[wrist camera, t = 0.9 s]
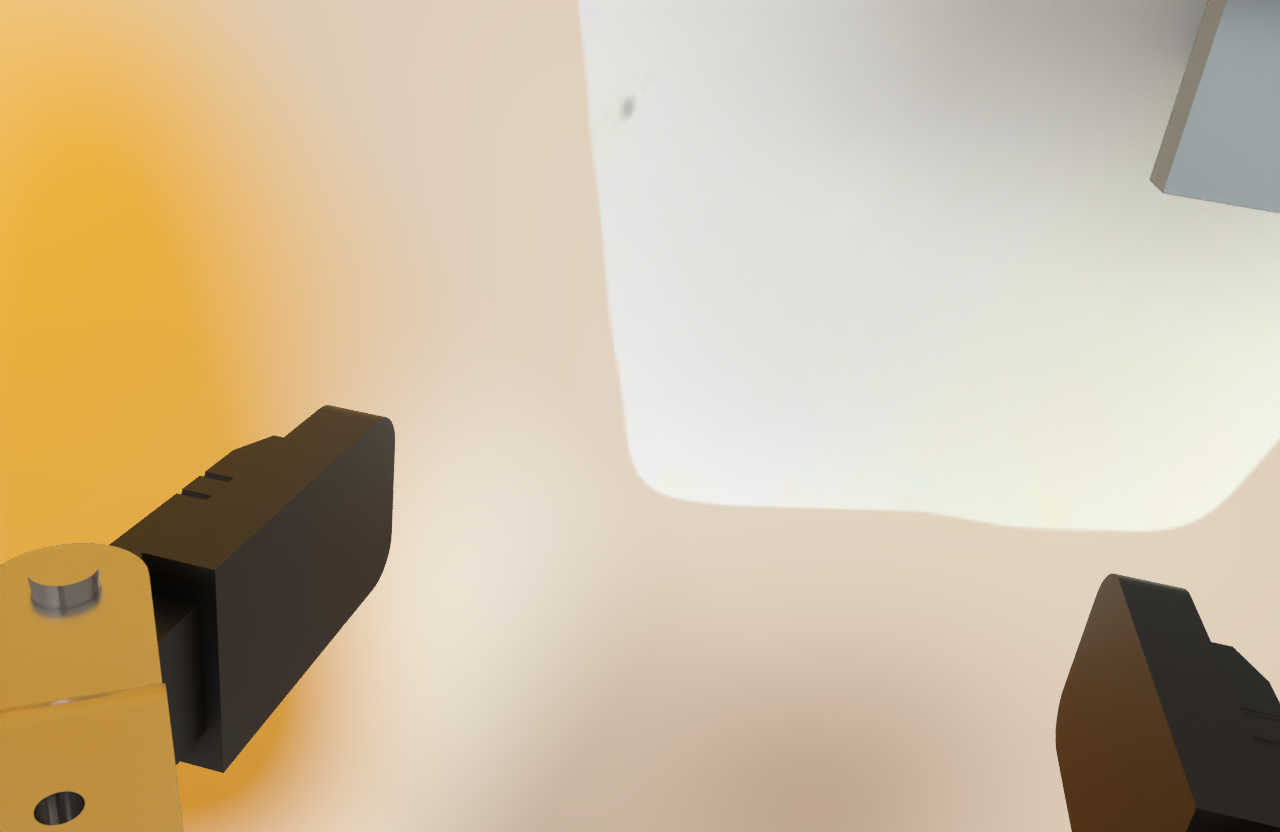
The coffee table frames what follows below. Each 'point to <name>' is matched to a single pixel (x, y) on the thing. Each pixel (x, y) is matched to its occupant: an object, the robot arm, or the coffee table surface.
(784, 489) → the coffee table surface
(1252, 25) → the slate stand
